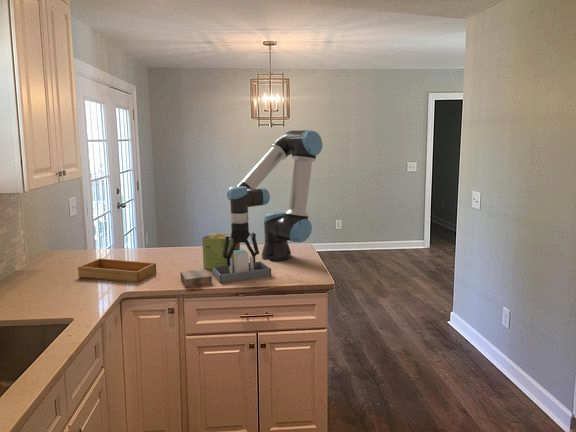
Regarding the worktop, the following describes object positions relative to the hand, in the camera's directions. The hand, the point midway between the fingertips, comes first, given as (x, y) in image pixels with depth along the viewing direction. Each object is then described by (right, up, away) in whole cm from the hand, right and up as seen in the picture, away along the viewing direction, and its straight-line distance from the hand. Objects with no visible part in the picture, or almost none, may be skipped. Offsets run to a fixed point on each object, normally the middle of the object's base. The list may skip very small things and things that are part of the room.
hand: (241, 271), depth 216 cm
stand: (-19, -4, -7) cm, 21 cm away
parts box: (0, -2, 0) cm, 2 cm away
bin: (0, -2, 0) cm, 2 cm away
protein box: (-11, 0, +16) cm, 19 cm away
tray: (-57, -3, +6) cm, 58 cm away
